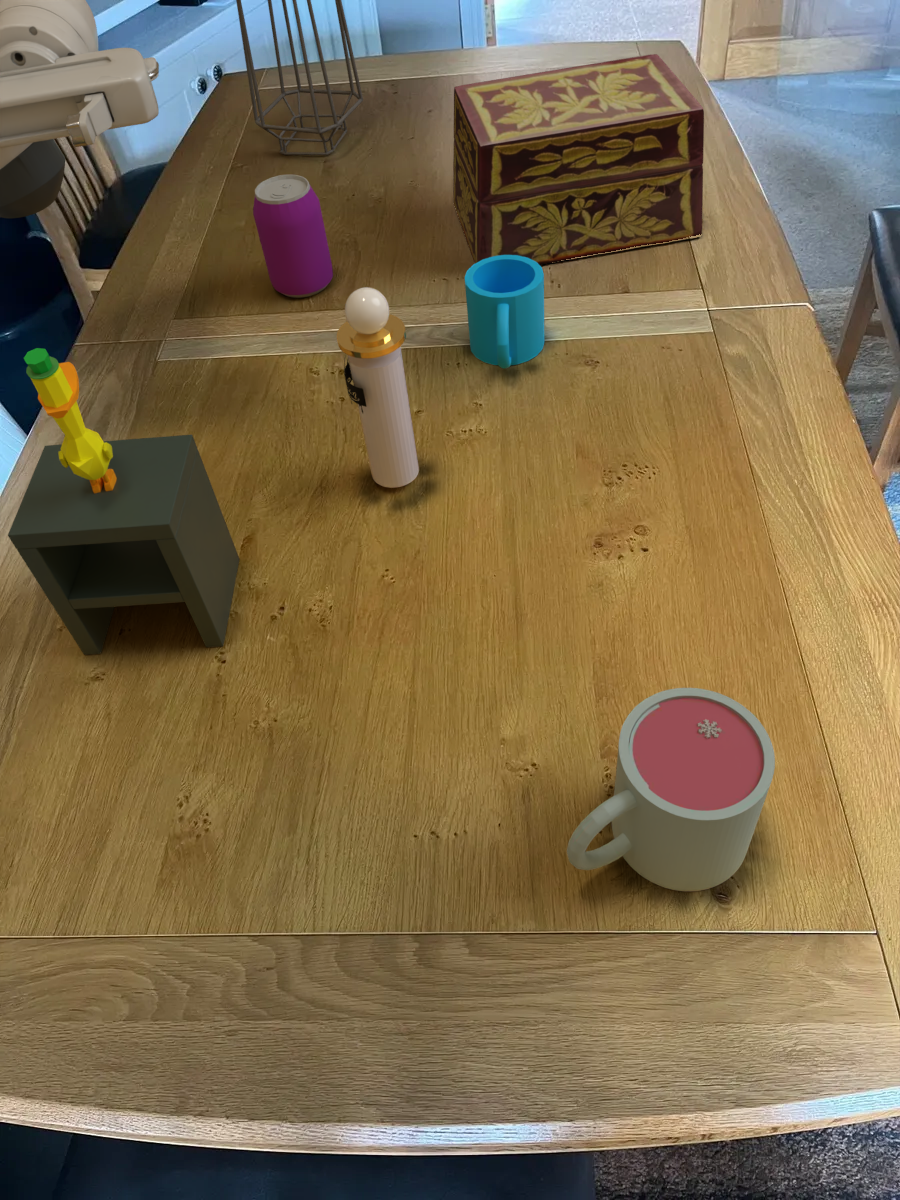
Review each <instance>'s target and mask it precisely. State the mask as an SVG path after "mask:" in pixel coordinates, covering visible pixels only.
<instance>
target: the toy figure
mask: <svg viewBox="0 0 900 1200" xmlns="http://www.w3.org/2000/svg"><path fill="white" fill-rule="evenodd" d="M23 360H24V362H25V363H26V365H27V367H26V370H25V371H26V375H27V376H28V377H29V378H30V380H31V383H32V384H33V386H34V388H35V390H36V391H37V400H38V402H39V403H40V404H41V406H42V408H43V409H44V411H45V412H46V414H47V416H49V417H51V418H52V419H53V420H54V421H55V423H56V424H57V426H58V427H59V429H60V430H61V432H62V433H63V435H64V437H63V441H62V443H61V444H62V446H61V451H59V452H58V454H59V460H60V462H61V464H62V465H63V466H64V467H65V468H67V467H68V466H70V468H71V470H72V471H73V473H74V474H76V475H78V476H80V477H83V478H85V479H88V480H90V483H91V487H92V490H93V492H94V493H99V492H101V489H102V486H103V482H104V487H105V490H106V491H112V490H113V488H114V485H115V483H116V479H117V477H116V475H115V473H114V470H113V469H108V465H109V462H110V460H111V459H112V457H113V452H112V446H111V445H110V444H109V443H107V442H106V443H104V442H103V441H104V439H102V437H101V435H100V434H99V432H97V431H95V430H92V429H90V428H88V427H86V425H85V423H84V419H83V416H82V414H81V411H80V410H81V409H80V407H79V404H78V400H79V396H80V380H79V375H78V372H77V369H76V367H75V366H74V364H73V363H71V362H70V361H65V362H59V361H58V359H57V358H55V357H54V356H50V355H49V353H48V351H47V350H46V348H40V347H36V348H34V349H31V350H28V351H27V352H26V354H25V356H24V357H23Z"/></svg>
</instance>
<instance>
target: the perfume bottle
mask: <svg viewBox="0 0 900 1200" xmlns="http://www.w3.org/2000/svg"><path fill="white" fill-rule="evenodd" d="M344 316H345V320H346V321H345V322H343V323H342V324H341V326H340V327H339V328H338V330H337V331H336V342H337V345H338V349H339V350H340V351H341V352H342V353H344V355H347V359H346V358H344V359H343V360H344V361H342V364H343V369H342V370H343V374H344V379H345V385H346V389H347V394H348V397H349V399H350V402H351V404H353V402H354V403H355V404H357V408H358V414H359V418H360V423H361V429H362V434H363V438H364V444H365V447H366V448H365V449H366V454H367V457H368V464H369V468H370V473H371V477H372V479H373V481H374V482H375V483H376V484H378V485H379V486H382V487H384V488H391V489H392V488H393V489H394V488H400V487H404V486H407V485H409V484H410V483H412V482H413V481H414V480H415V479H416V478H417V477H418V475H419V471H420V465H419V459H418V453H417V445H416V439H415V433H414V426H413V418H412V413H411V406H410V400H409V393H408V387H407V379H406V372H405V367H404V360H403V352H402V345H403V344H404V342H405V341H406V338H407V330H406V325H405V323H404V321H403V320H402V319H401V318H399V317H398V316H396V315H394V314H391V313H390V304H389V302H388V300H387V298H386V297H385V296H384V294H383V293H382V292H381V291H379V290H378V289H376V288H374V287H369V286H364V287H363V286H362V287H359V288H357V289H355V290H354V291H353V292H351V293H350V294H349V296H348V297H347V299H346V301H345V304H344Z"/></svg>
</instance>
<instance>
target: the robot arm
mask: <svg viewBox="0 0 900 1200" xmlns="http://www.w3.org/2000/svg"><path fill="white" fill-rule="evenodd" d="M159 74H160V63H159V62H158V61H157V59H156V57H153V56H151V57H150V56H149V57H145V58H144V56H143V55H142V54H141V52H140V51H139V50H138V49H136V48H132V47H117V48H109V49H104V50H99V34H98V27H97V23H96V19H95V16H94V13H93V11H92V9H91V7H90V5H89V4H88V1H87V0H0V218H1V219H2V218H3V219H20V218H25V217H29V216H32V215H35V214H38V213H40V212H42V211H44V210H45V209H47V208H49V207H50V206H52V205H53V203H54V202H55V201H56V200H57V198H58V195H59V193H60V191H61V188H62V185H63V181H64V175H65V168H66V157H65V155H64V153H63V152H62V150H61V149H60V147H59V145H58V144H57V142H56V141H55V140H57V139H61V138H66V137H71V142H72V145H73V147H74V148H80V147H86V146H91V145H95V142H96V137H98V136H100V135H101V134H103V133H105V132H106V131H108V130H114V129H120V128H126V127H132V126H138V125H145V124H147V123H149V122H151V121H153V120H155V119H156V118H157V117H158V116H159V113H160V112H159V103H158V99H157V96H156V92H155V89H154V85H153V81H155V80H156V79H157V78H158V77H159Z"/></svg>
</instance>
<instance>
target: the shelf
mask: <svg viewBox="0 0 900 1200" xmlns="http://www.w3.org/2000/svg"><path fill="white" fill-rule="evenodd" d="M103 442H104V443H106V442H107V443H109V444H110V445H111V446H112V452H113V457H112V459H111V460H110V462H109V465H108V469H113V470H114V473H115V475H116V477H117V479H116V483H115V485H114V488H113V490H112V491H106V490H105V487H104V482H103V486H102V489H101V492H99V493H94V492H93V490H92V487H91V483H90V480H88V479H85V478H83V477H80V476H78V475H76V474H74V473H73V471H72V470H71V468H70V466H68V467H67V468H65V467H64V466H63V465H62V464H61V462H60V460H59V454H58V452H59V451H61V446H62V443H61V444H50V445H49V444H48V445H47V444H46V445H44V447H43V449H42V451H41V454H40V457H39V459H38V461H37V463H36V466H35V468H34V471H33V473H32V476H31V478H30V481H29V483H28V484H27V487H26V490H25V493H24V495H23V498H22V500H21V502H20V505H19V507H18V509H17V512H16V514H15V517H14V519H13V521H12V524H11V527H10V529H9V531H8V534H7V536H8V539H9V540H10V541H11V543H12V545H13V546H14V548H15V549H16V551H17V552H18V554H19V556H20V557H21V559H22V560H23V562H24V563H25V565H26V566H27V568H28V569H29V571H30V572H31V574H32V576H33V578H34V579H35V580H36V582H37V584H38V585H39V587H40V588H41V590H42V592H43V593H44V594H45V596H46V597H47V600H48V601H49V603H50V604H51V605H52V607H53V609H54V610H55V612H56V613H57V615H58V616H59V618H60V619H61V621H62V623H63V624H64V626H65V627H66V629H67V630H68V632H69V633H70V635H71V637H72V638H73V640H74V642H75V643H76V645H77V646H78V648H79V649H80V651H81V652H82V654H83V655H85V656H88V655H101V654H102V651H103V648H104V644H105V642H106V639H107V634H108V631H109V627H110V624H111V620H112V618H113V614H114V610H115V607H129V606H131V607H132V606H144V605H158V604H160V605H161V604H173V603H174V604H176V603H185V605H186V608H187V610H188V612H189V614H190V616H191V618H192V621H193V622H194V624H195V627H196V629H197V631H198V633H199V635H200V637H201V639H202V642H203V643H204V646H205V648H219V647H224V645H225V639H226V634H227V630H228V625H229V619H230V618H229V617H230V612H231V607H232V603H233V596H234V591H235V585H236V581H237V576H238V575H237V574H238V569H239V564H240V557H239V554H238V551H237V548H236V546H235V543H234V541H233V538H232V535H231V533H230V530H229V528H228V525H227V522H226V519H225V517H224V514H223V512H222V509H221V507H220V504H219V500H218V499H217V496H216V493H215V491H214V488H213V485H212V483H211V480H210V477H209V475H208V473H207V470H206V467H205V464H204V462H203V459H202V456H201V454H200V451H199V449H198V446H197V444H196V440H195V439H194V436H193V434H181V435H180V434H179V435H167V436H154V437H153V436H152V437H141V438H127V439H116V440H115V439H113V440H103Z"/></svg>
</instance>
